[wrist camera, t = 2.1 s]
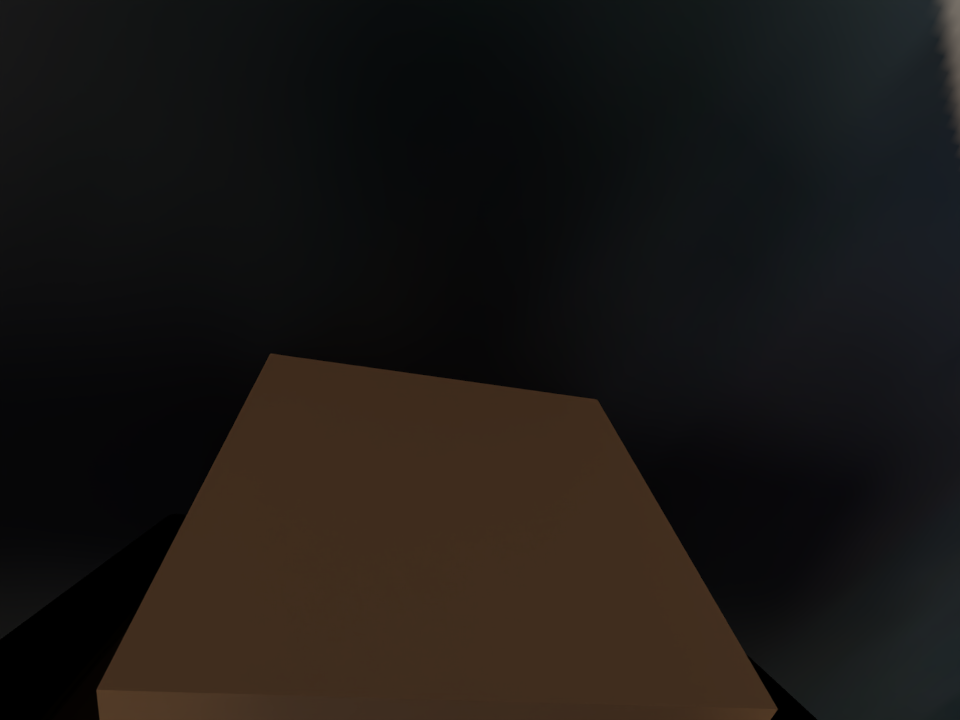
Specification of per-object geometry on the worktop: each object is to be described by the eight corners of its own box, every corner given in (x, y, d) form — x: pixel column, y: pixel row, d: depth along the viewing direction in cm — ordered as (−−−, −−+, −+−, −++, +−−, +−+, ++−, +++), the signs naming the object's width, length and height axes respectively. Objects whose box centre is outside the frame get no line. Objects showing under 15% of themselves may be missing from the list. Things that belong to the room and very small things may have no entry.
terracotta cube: (519, 612, 11) (592, 971, 7) (254, 597, 10) (131, 1005, 6) (595, 396, 9) (778, 710, 4) (271, 350, 8) (94, 690, 4)
